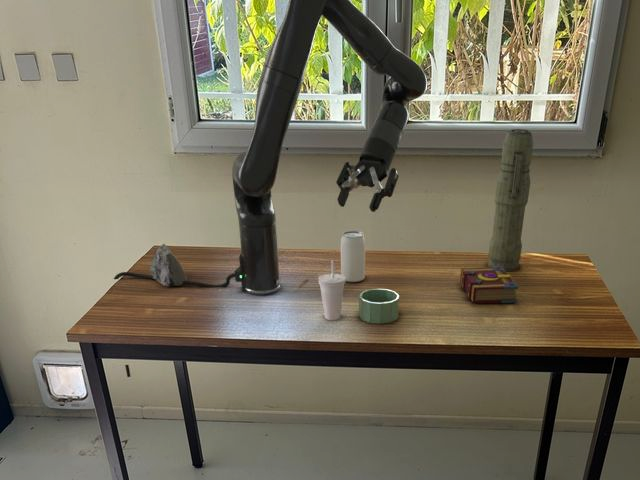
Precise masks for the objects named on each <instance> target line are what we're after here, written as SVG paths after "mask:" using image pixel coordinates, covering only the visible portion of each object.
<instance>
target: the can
mask: <svg viewBox="0 0 640 480" xmlns="http://www.w3.org/2000/svg"><path fill="white" fill-rule="evenodd" d="M341 235H342V236H341V238H340V275H343V276H344V277H345V281H346V282H347V283H359V282H362V281H363V280H364V279H365V278H366V238H365V237H364V232H363V231H359V230H347V231H344V232H343V233H341ZM346 282H345V283H346Z"/></svg>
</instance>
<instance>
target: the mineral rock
mask: <svg viewBox="0 0 640 480" xmlns="http://www.w3.org/2000/svg"><path fill="white" fill-rule="evenodd" d="M149 270H150V271H149V272H150V275H152V276H153V277H154V279H153V280H155V281H156V282H158V283H160V284H161V285H162V286H165V287H168V288H170V287H174V286H175V287H176V286H177V287H180V286H182V285H184V284H183V281H188V277H187V276H186V272H185V270H184V267H183V265H182V263H181V261H180V260H178V259H177V257H176V256H175V255H174V253H173V252H172V251H171V249H170V247H169V246H168V245H167V244H166V243H163V244H161V245H160V246H159V247H157V250H156V252H155V255H154V257H153V259H151V262H150V268H149Z"/></svg>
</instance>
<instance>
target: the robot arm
mask: <svg viewBox="0 0 640 480" xmlns="http://www.w3.org/2000/svg"><path fill="white" fill-rule="evenodd" d="M322 17H323V18H324V19H325V20H326V21H327V22H328V23H329V24H330V25H331V26H332V27H333V28H334V29H335V30H336V31H337V32H338V33H339V35H340V36H341V37H342V38H343V39H344V40H345V41H346V42H347V44H348V45H349V46H350V48H351V49H352V50H353V51H354V52H355V53H356V54H357V56H358V57H359V58H360V59H361V61H363V62H364V64H365V65H366V66H367V67H368V68H369V69H370V71H372V73H374V74H375V75H376V76H388V78H387V80H386V82H385V83H384V87H383V91H382V95H381V102H380V109H379V112H378V114H377V116H376V119H375V121H374V123H373V125H372V126H371V128H370V131H369V132H368V135H367V137H366V140H365V142H364V145H363V147H362V150H361V152H360V154H359V159H358V160H359V161H358V162H357V163H356V165H353V164H351V163H350V162H349V161H346V162H344V165H343V167H342V169H341V170H340V172H339V175H338V177H337V179H336V181H335V183H336V185H337V186H338V188H339V190H340V191H339V194H338V196H337V198H336V199H337V203H338V205H339V206H340V207H341V208H344V207H345V205H346V203H347V200H348V198H349V196H350V192H352V191H353V190H354V189H355V190H357V189H358V188H359V187H369V188H372V189H373V188H375V191H376V192H374V193H373V196H372V199H371V201H370V203H369V208H368V209H369V210H370V212H372V213H375V212H376V211H377V210H378V209H380V205H381V203H382V200H383V199H384V198H386V197H387V198H391V197H393V194H394V191H395V189H396V185H397V182H398V180H399V174H398V172H397V170H396V168H395V167H392V168H391V166H392V163H393V160H394V159H395V156H396V153H397V151H398V148H399V145H400V142H401V138H402V136H403V134H404V131H405V129H406V125H407V122H408V120H409V110H408V109H407V107H406V105H407V104H408V103H410V102H412V101H414V100H416V99H419V98H420V97H422V96H424V94H425V93H426V91H427V87H428V80H427V76H426V73H425V71H424V70H423V68H422V67H421V66H420V65H419V64H418V63H417V62H416V61H415V60H414V59H412V58H411V57H409V56H408V55H407V54H405V53H404V52H403V51H401V50H399V49H397V48H396V47H395V46H394V44H393V43H392V42H391V41H390V39H389V38H388V37H387V36H386V35H385V34H384V32H383V31H382V30H381V29H380V28H379V27H378V26H377V25H376V23H375V22H373V21H372V20H371V18H369V17H368V16H367V15H366V14H365V13H364V12H362V11H361V10H360V9H359V8H358V7H357V6H356V5H355V4H354V3H353V2H352V1H351V0H288V3H287V7H286V11H285V14H284V17H283V20H282V22H281V24H280V26H279V29H278V31H277V33H276V34H275V36H274V38H273V41H272V42H271V45H270V47H269V49H268V51H267V53H266V57H265V60H264V62H263V67H262V70H261V74H260V77H259V81H258V85H257V92H256V99H255V112H254V113H255V114H254V124H253V125H254V126H253V131H252V134H251V138H250V141H249V144H248V148H247V150H245V151H242V152H240V153H239V154H238V155H237V156H236V157H235V159H234V161H233V163H232V167H231V170H232V171H231V173H232V174H231V177H232V186H233V187H232V188H233V195H234V204H235V210H236V213H237V221H238V229H239V240H240V252H241V253H240V254H238V260H239V266H238V267H237V268H236V269H235V270H234V272H233V273H230V274H229V275H227V276H226V279H225V282H224V283H221V284H209V283H204V282H200V281H199V282H198V281H191V280H190V281H189V280H187V281H183V284H182V285H185V286H194V287H202V288H226V287H227V286H228V287H229V285H230V283H231V279H232V278H234V279H235V282H237V283H241V291H242V292H245V293H248V294H252V295H261V296H262V295H270V294H274V293H276V292H278V291H280V289H281V281H282V279H281V277H280V268H279V252H278V251H279V250H278V235H277V218H276V210H275V206H274V203H273V198H272V189H273V188H274V186H275V183H276V179H277V174H278V168H279V164H280V158H281V153H282V147H283V144H284V140H285V137H286V134H287V132H288V129H289V126H290V123H291V121H292V117H293V114H294V111H295V107H296V104H297V102H298V99H299V96H300V92H301V89H302V87H303V84H304V83H303V82H304V80H305V76H306V71H307V68H308V64H309V60H310V57H311V53H312V49H313V45H314V40H315V36H316V34H317V33H316V32H317V29H318V26H319V23H320V21H321V18H322ZM390 168H391V169H390ZM386 178H387V179H386ZM385 179H386V182H385V184H384V185H385V186H384V187H383V185H382V182H383V180H385ZM125 276H126V277H133V278H144V279H151V280H155V279H154V277H153V276H152V274H145V273H135V272H130V271H122V272H119V273H117V274H115V276H114V277H113V280H118V279H120V278H121V277H125ZM124 367H125V371H126V377H127V378H130V377H131V371H130V366H129V364H125V365H124Z"/></svg>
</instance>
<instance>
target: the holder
mask: <svg viewBox="0 0 640 480" xmlns="http://www.w3.org/2000/svg"><path fill="white" fill-rule="evenodd" d="M399 315H400V295H399V293H398V292H396V291H394V290H391V289H387V288H371V289H366V290H363V291H362V292H360V293H359V295H358V317H359V318H360V319H361V320H362V321H364V322H367V323H369V324H377V325H379V324H382V325H383V324H388V323H389V324H390V323H392V322H394V321H396V320H398V318H399Z"/></svg>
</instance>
